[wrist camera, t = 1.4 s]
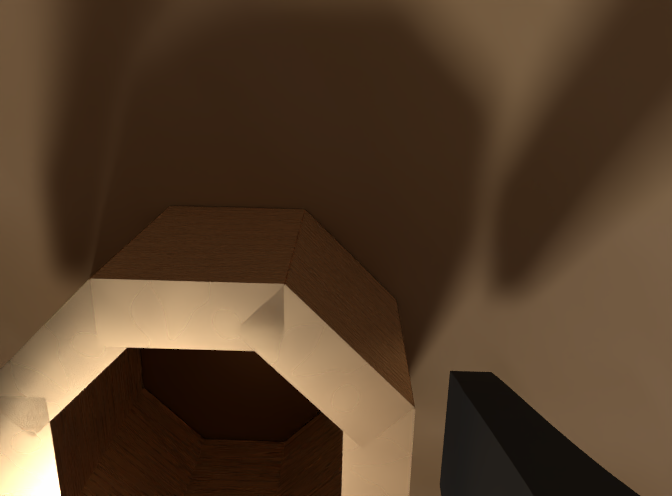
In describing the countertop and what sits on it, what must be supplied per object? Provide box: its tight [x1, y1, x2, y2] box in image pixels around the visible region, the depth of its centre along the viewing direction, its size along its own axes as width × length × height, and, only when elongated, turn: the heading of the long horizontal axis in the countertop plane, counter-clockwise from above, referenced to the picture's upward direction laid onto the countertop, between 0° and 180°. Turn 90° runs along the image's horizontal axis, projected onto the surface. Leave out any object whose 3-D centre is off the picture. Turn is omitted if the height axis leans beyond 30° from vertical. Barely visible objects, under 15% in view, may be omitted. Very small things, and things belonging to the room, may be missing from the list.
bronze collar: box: [0, 206, 415, 496], centre depth 10 cm, size 6×6×3 cm
